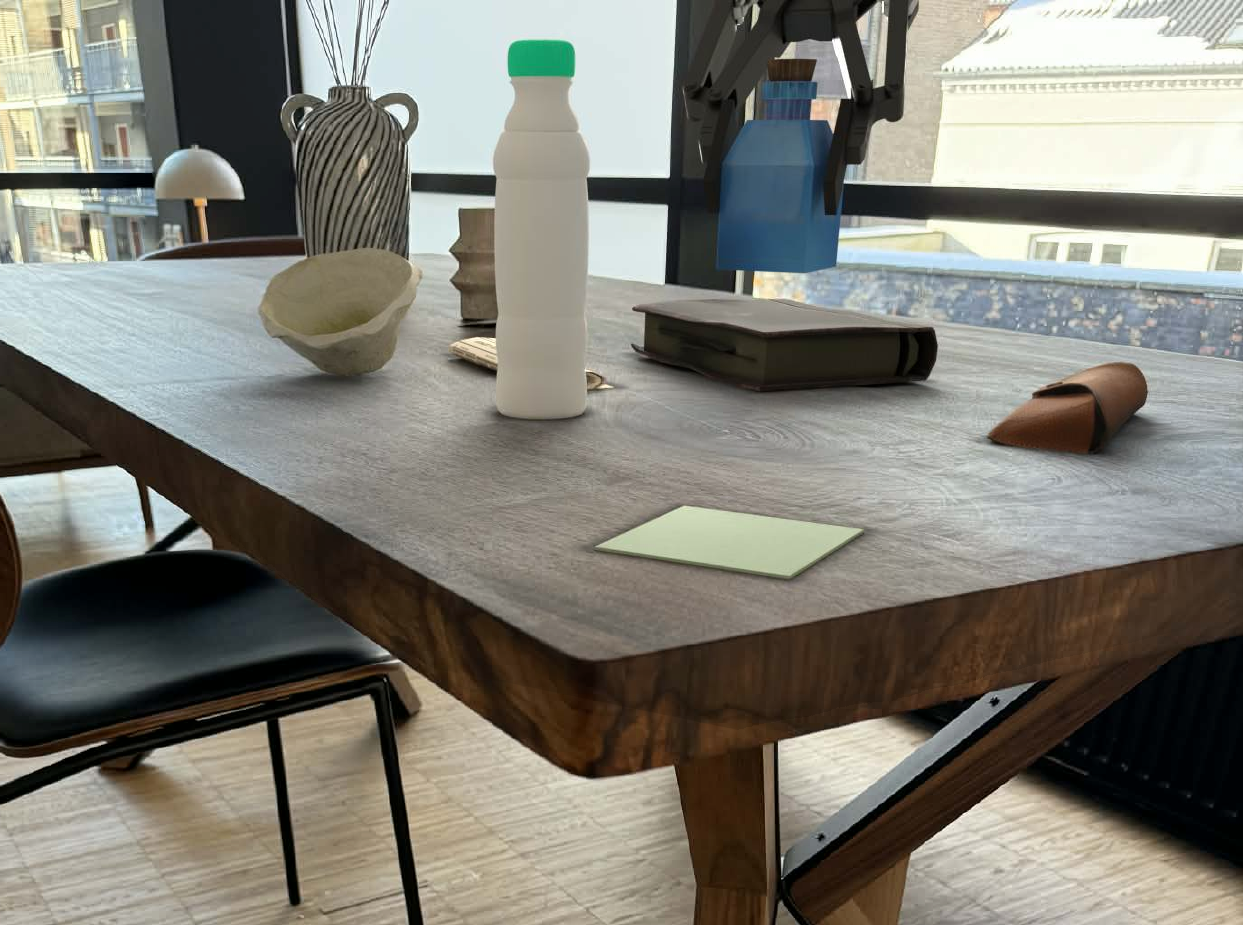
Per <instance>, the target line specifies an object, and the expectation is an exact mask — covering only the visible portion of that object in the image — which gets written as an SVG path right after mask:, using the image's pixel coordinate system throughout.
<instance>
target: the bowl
mask: <svg viewBox="0 0 1243 925" xmlns="http://www.w3.org/2000/svg"><path fill="white" fill-rule="evenodd" d="M423 276H424V274H423V270H422V269H421V268H419V267H416V266H415V265H414V264H412V263H411V262H410V261H409V260H407V259H406V258H404V257H403V256H401V255H399V254H397V253H395V252H392V251H390V250H387V249H380V248H375V247H359V248H355V249H348V250H342V251H333V252H328V253H318V254H316V255H312V256H309V257H308V256H307V257H306V258H305V259H301V260H299V261H297V262H295V263H293V264H292V265H290V266H288V267H287V268H286V269H284V270H282V271H280V272H278V273H276V274H274V276H272V278H271V279H270V280H269V283H268V285H267V286H266V288H265V292H264V293H263V295H262V300H261V302H260V304H259V306H258V307H257V313H258V315H259V317H260V319H261V323H262V326H263V327H264V330H265V331H266V333H267V334H268V336H269V337H270V338H272V339H276V338H277V339H278V340H280V341H281V342H282V343H283V344H285V345H286V346H287V347H288V348H290V350H292V351H294V352H295V353H296V354H297V355H299V356H301V358H304V359H306V360H307V361H308V362H310V363H311V364H313V365H314V366H315V367H317V368H318V369H319V370H320V371H322V372H324V373H327V374H330V375H337V376H350V377H351V376H354V377H355V376H360V375H363V374H369V373H374V372H376V371H378V370H381V369H382V368H383V367H384V366H385V365H386V364H387V363H388V362H389V361H391V360H392V358H393V357H394V355H395V351H396V349H397V343H398V339H399V332H400V327H401V325H402V322H403V320H404V318H405V317H406V314H407V312H408V311H409V309H410V308H411V306H412V305H413V304H414V302H415V300H416V298H417V293H418V286H419V284H420V283H421V281H422V279H423Z"/></svg>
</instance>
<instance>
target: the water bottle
mask: <svg viewBox="0 0 1243 925" xmlns="http://www.w3.org/2000/svg"><path fill="white" fill-rule="evenodd" d="M507 73H508V77H510V80H509V83H510V84H511V86H512V87H513V90H514V100H513V102H512V106H511V108H510V109H509V112H507V115H506V117H505V120H504V126H503V131H502V132H500V134H499V135H500V136H499V138H498V140H497V143H496V145H495V148H494V151H493V157H492V168H493V169H492V170H493V172H494V176H495V178H496V181H495V182H496V183H495V193H494V194H495V196H494V214H493V215H494V217H493V218H494V220H493V222H494V223H493V226H494V228H493V229H494V230H493V235H494V236H493V239H494V240H493V241H494V242H493V245H494V247H493V250H494V279H495V280H494V281H495V295H496V296H495V297H496V305H497V313H498V314H497V318H496V325H495V339H496V351H497V358H498V370H497V372H496V384H495V404H496V410H497V411H498V412H499V414H501V415H503V416H506V417H509V418H513V419H515V418H516V419H523V420H559V419H561V420H562V419H569V418H575V417H579V416H581V415H582V414H583V413H584V412H585V411H586V409H587V403H588V402H587V401H588V400H587V399H588V389H587V383H586V371H585V369H586V356H587V350H588V326H587V319H586V306H587V297H588V296H587V295H588V282H589V281H588V280H589V279H588V278H589V277H588V276H589V254H590V253H589V252H590V251H589V249H590V248H589V247H590V246H589V244H590V218H589V216H590V212H589V192H588V181H587V178H588V177H589V174H590V169H591V156H590V151H589V148H588V145H587V143H586V140H585V137H584V135H583V132H581V131H579V130H580V125H579V124H580V123H579V120H578V117H577V115H576V113H575V111H574V110H573V107H572V105H571V102H570V99H569V98H570V97H569V93H570V92H569V91H570V88H571V86H572V85H573V84H574V80H573V78H574V77H575V73H576V52H575V47H574V46H573V44H572V43H571V42H570V41H567V40H562V39H545V38H544V39H542V38H541V39H540V38H539V39H519V40H515V41H513V42H512V43H511V44H510V45H509V47H508V52H507Z"/></svg>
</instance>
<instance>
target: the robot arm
mask: <svg viewBox="0 0 1243 925" xmlns="http://www.w3.org/2000/svg"><path fill="white" fill-rule="evenodd" d="M878 3H880V4H882V14H883V15H884V16H885V17H887V18H886V19H887V33H886V34H887V35H886V49H885V51H886V52H885V66H884V80H883V81H884V83H883V85H881V86H878V87H877V86H876V87H874V79H872V78H871V75H870V71H869V68H868V63H867V60H866V57H865V53H864V49H863V48H864V47H863V45H862V41H861V37H860V33H859V30H858V24H857V22H858V21H859V20H860V19H861V18H863V17H864V16H865V15H866V14H867V13H868V12H869V11H870V10H871V9H873V8H874V7H875V6H876V5H877V4H878ZM755 4H756V6H757V8H758V9H759V11H758V15H757V20H756V21H755V23H754V25H753V26H752V28H751V29H750V30H749V32H748V33H747V35H746V36H745V38H744V39H743V41H742V42H741V44H740V45H739V46H738V47H737V49H736V51H735V52H734V53H733V55H732V57H730V59H729V60H728V57H729V55H730V52H731V49H732V46H733V44H734V41H735V38H736V34H737V26H741V25H742V24H743V23H744V18H745V16H746V15H747V14H748V10H749V8H750V7H752V6H753V5H755ZM711 9H712V10H711V11H710V14H709V17H708V20H707V22H706V24H705V27H704V29H703V32H702V35H701V37H700V40H699V42H698V45H697V47H696V50H695V52H694V55H693V58H692V61H691V63H690V66H689V68H688V70H687V73H686V76H685V78H684V80H683V83H682V92H683V97H684V103H685V110H686V116H687V120H688V121H690V122H692V123H698V122H700V121H702V122H701V123H702V124H701V128H700V131H699V132H700V133H699V136H698V146H699V152H700V159H701V162H702V164H706V167H705V170H704V175H703V179H702V185H703V192H704V198H705V204H706V210H707V214H719V212H720V194H721V175H722V163H723V161H724V159H725V158H726V156H727V154H728V152H729V151H730V149H731V147H732V145H733V144H734V142H735V140H736V138H737V137H738V135H739V128H738V121H737V114H738V112H740V110H741V108H742V106H744V104H745V103H746V101H747V100H748V98H749V97H750V96H751V94H752V92H753V90H755V88H756V86H758V83H759V82H760V81H761V79H762V78H763V76H764V75H765V73H766V72H767V71H768V68H767V60H769V59H781V58H782V56H783V55H784V53H785V51H786V50H787V48H788V47H789V46H790V44H791V43H800V42H804V41H808V40H809V41H810V40H811V41H816V42H821V43H824V42H825V43H828V42H832V45H833V50H834V52H835V53H834V54H835V56H836V58H837V59H838V64H839V67H840V71H841V75H842V79H843V84H844V87H845V91H846V95H847V98H840V102H839V106H838V109H837V110H838V111H837V116H836V120H835V125H834V128H833V138H832V143H831V147H830V152H829V157H828V161H827V166H826V171H825V175H824V180H823V192H824V210H825V215H837V211H838V206H839V201H840V197H841V192H842V187H843V188H844V185H843V183H844V184H845V177H846V173H847V167H848V165H849V166H851V165H852V166H854V165H856V166H857V165H859V166H860V165H862V163H864V160H866V156H867V150H868V145H869V141H870V136H871V131H872V127H873V126H874V125H875V124H876V123H877V122H879V121H881V120H885V121H887V122H889V123H897V122H899V121H901V119H902V118H904V113H905V112H904V111H905V95H906V94H905V93H906V79H907V78H906V76H907V58H908V40H909V30H910V28H911V26H912V24H913V22H914V20H915V18H916V16H917V15H918V14H919V13H918V12H919V9H920V0H714V3H713V7H712V8H711ZM727 60H728V62H727ZM726 62H727V63H726ZM725 64H726V65H725Z"/></svg>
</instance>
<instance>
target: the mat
mask: <svg viewBox="0 0 1243 925" xmlns="http://www.w3.org/2000/svg"><path fill="white" fill-rule="evenodd" d="M864 532H865V530H864V529H863V528H857V527H848V526H842V525H833V524H824V523H819V522H812V521H811V522H810V521H802V520H796V519H789V518H781V517H775V516H774V517H773V516H765V515H759V514H758V515H757V514H751V513H744V512H736V511H730V510H721V509H714V508H706V507H699V506H691V505H682V506H680V507H678V508H675V509H674V510H672V511H669V512H667V513H665V514H662V515H661V516H658V517H656V518H654V519H652V520H649V521H647V522H645V523H643V524H640V525H639V526H636V527H634V528H632V529H630V530H628V531H625V532H623V533H622V534H619V535H617V536H615V537H613V538H610V539H608V540H606V541H604V542H602V543H599V544H597V545H595V546H594V550H595V551H601V552H602V551H603V552H607V553H614V554H621V555H625V556H626V555H628V556H634V557H640V558H647V559H655V560H661V561H666V562H672V563H673V562H674V563H680V564H686V565H694V566H698V567H699V566H700V567H706V568H712V569H720V570H726V571H732V572H738V573H744V574H752V575H758V576H765V577H772V578H778V579H784V580H791V579H792V578H794V577H796V576H797V575H799V574H800V573H802V572H804V571H805V570H807V569H808V568H810V567H811V566H813V565H814V564H816V563H818V562H819V561H821V560H822V559H824V558H826V557H827V556H829V555H830V554H832V553H834V552H835V551H836V550H838V549H840V548H841V547H843V546H844V545H846V544H848V543H849V542H851V541H852V540H854V539H855V538H857V537H859V536H860V535H862V534H863V533H864Z"/></svg>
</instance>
